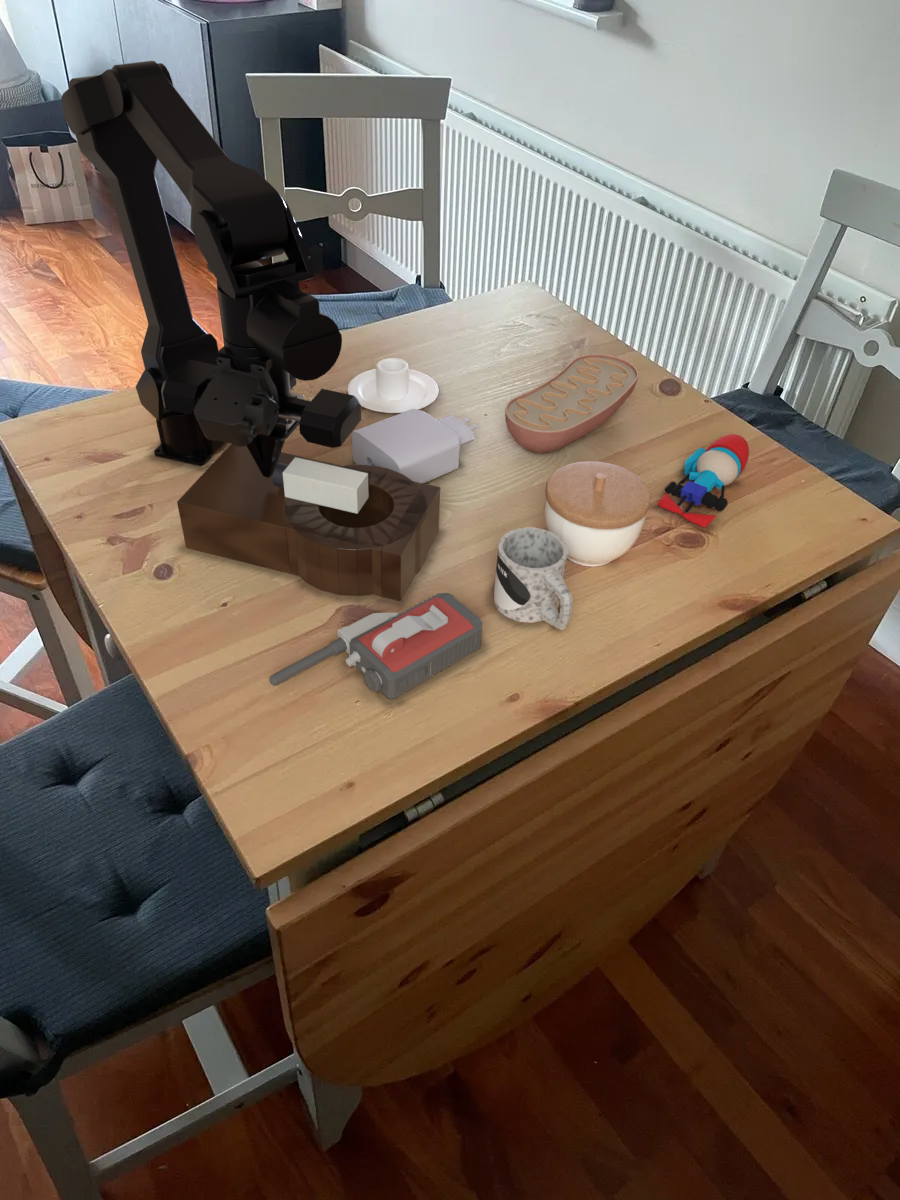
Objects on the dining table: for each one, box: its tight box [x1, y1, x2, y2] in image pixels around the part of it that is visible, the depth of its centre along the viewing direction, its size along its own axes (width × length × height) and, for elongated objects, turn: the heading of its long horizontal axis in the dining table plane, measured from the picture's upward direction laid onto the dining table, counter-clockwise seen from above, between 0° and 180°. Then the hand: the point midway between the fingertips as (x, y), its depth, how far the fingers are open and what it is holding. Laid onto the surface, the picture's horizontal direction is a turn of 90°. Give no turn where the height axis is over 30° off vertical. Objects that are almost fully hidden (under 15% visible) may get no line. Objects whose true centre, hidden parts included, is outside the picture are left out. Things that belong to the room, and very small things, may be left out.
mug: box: [493, 526, 574, 631], centre depth 89 cm, size 10×7×7 cm
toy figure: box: [657, 433, 750, 528], centre depth 106 cm, size 8×5×15 cm
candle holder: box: [347, 357, 440, 414], centre depth 120 cm, size 12×12×4 cm
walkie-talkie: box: [268, 592, 483, 699], centre depth 83 cm, size 9×4×20 cm
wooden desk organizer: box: [176, 443, 441, 602], centre depth 96 cm, size 24×14×6 cm, turn 72°
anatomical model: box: [504, 353, 639, 454], centre depth 115 cm, size 23×10×5 cm, turn 141°
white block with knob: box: [272, 457, 369, 514], centre depth 93 cm, size 9×3×3 cm, turn 72°
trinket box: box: [544, 460, 652, 568], centre depth 95 cm, size 11×11×9 cm
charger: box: [351, 409, 480, 484], centre depth 109 cm, size 5×9×15 cm
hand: (268, 475), depth 94 cm, fingers closed
